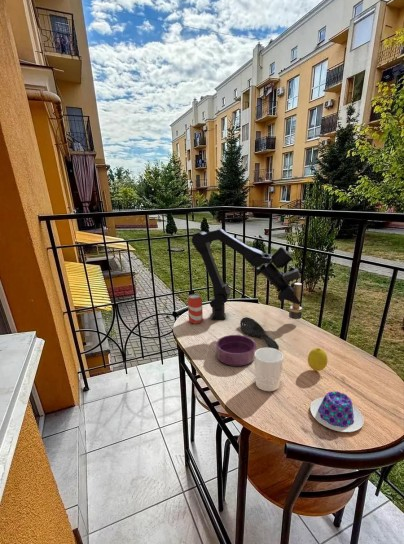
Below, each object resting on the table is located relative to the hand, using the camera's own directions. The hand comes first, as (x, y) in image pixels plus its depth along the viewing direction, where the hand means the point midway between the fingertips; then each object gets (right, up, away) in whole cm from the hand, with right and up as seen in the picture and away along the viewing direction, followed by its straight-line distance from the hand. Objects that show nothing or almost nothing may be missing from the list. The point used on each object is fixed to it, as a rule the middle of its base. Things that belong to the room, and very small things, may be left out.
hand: (299, 302), depth 116 cm
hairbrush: (-18, -14, -6) cm, 23 cm away
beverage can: (-43, -9, +9) cm, 45 cm away
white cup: (-21, -24, -34) cm, 47 cm away
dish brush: (-1, -6, +3) cm, 7 cm away
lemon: (-5, -21, -29) cm, 36 cm away
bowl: (-29, -19, -19) cm, 39 cm away
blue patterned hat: (-7, -28, -46) cm, 55 cm away
